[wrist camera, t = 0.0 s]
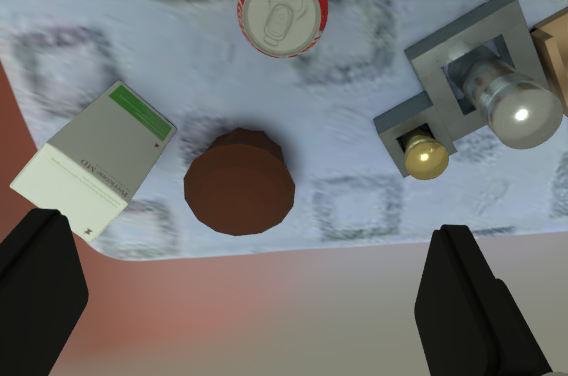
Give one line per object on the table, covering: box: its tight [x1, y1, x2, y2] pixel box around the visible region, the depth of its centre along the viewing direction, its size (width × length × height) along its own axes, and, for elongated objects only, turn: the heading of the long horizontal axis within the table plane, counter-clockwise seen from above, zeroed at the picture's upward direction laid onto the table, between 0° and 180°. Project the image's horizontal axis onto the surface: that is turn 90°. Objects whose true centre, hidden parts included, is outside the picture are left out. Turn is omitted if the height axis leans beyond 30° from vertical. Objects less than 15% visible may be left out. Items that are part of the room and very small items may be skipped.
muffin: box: [184, 127, 295, 236], centre depth 49 cm, size 12×11×10 cm
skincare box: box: [10, 80, 176, 243], centre depth 44 cm, size 8×7×16 cm
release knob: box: [403, 128, 449, 180], centre depth 45 cm, size 4×4×5 cm
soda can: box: [237, 0, 328, 58], centre depth 38 cm, size 7×7×12 cm
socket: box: [373, 0, 551, 178], centre depth 45 cm, size 11×16×4 cm
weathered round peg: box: [448, 45, 563, 149], centre depth 40 cm, size 5×5×14 cm
